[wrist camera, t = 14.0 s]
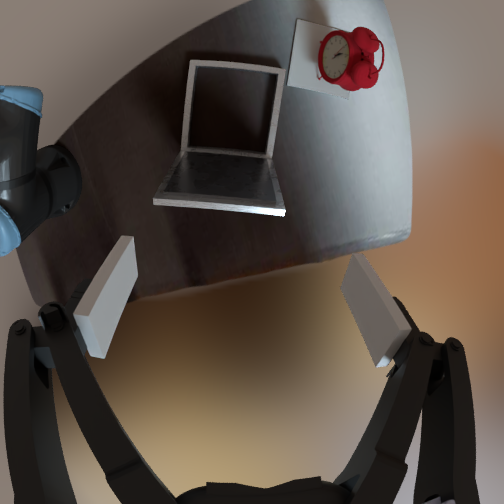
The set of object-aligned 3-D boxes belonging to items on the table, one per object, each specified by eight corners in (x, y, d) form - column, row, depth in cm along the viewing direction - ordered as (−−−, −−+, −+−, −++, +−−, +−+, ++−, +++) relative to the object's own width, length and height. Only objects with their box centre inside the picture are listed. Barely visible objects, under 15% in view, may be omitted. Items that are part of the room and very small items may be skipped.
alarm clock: (315, 33, 34) (347, 10, 21) (350, 40, 35) (392, 24, 22) (313, 87, 40) (346, 84, 27) (347, 92, 40) (390, 94, 27)
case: (183, 150, 45) (180, 153, 42) (192, 61, 37) (189, 59, 34) (269, 158, 46) (271, 162, 44) (283, 70, 38) (286, 69, 36)
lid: (180, 148, 42) (180, 155, 42) (153, 195, 29) (153, 204, 30) (272, 157, 43) (271, 164, 44) (286, 207, 31) (284, 216, 32)
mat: (287, 85, 40) (287, 85, 39) (297, 19, 33) (297, 19, 33) (347, 99, 41) (348, 99, 41) (356, 36, 34) (357, 35, 34)
